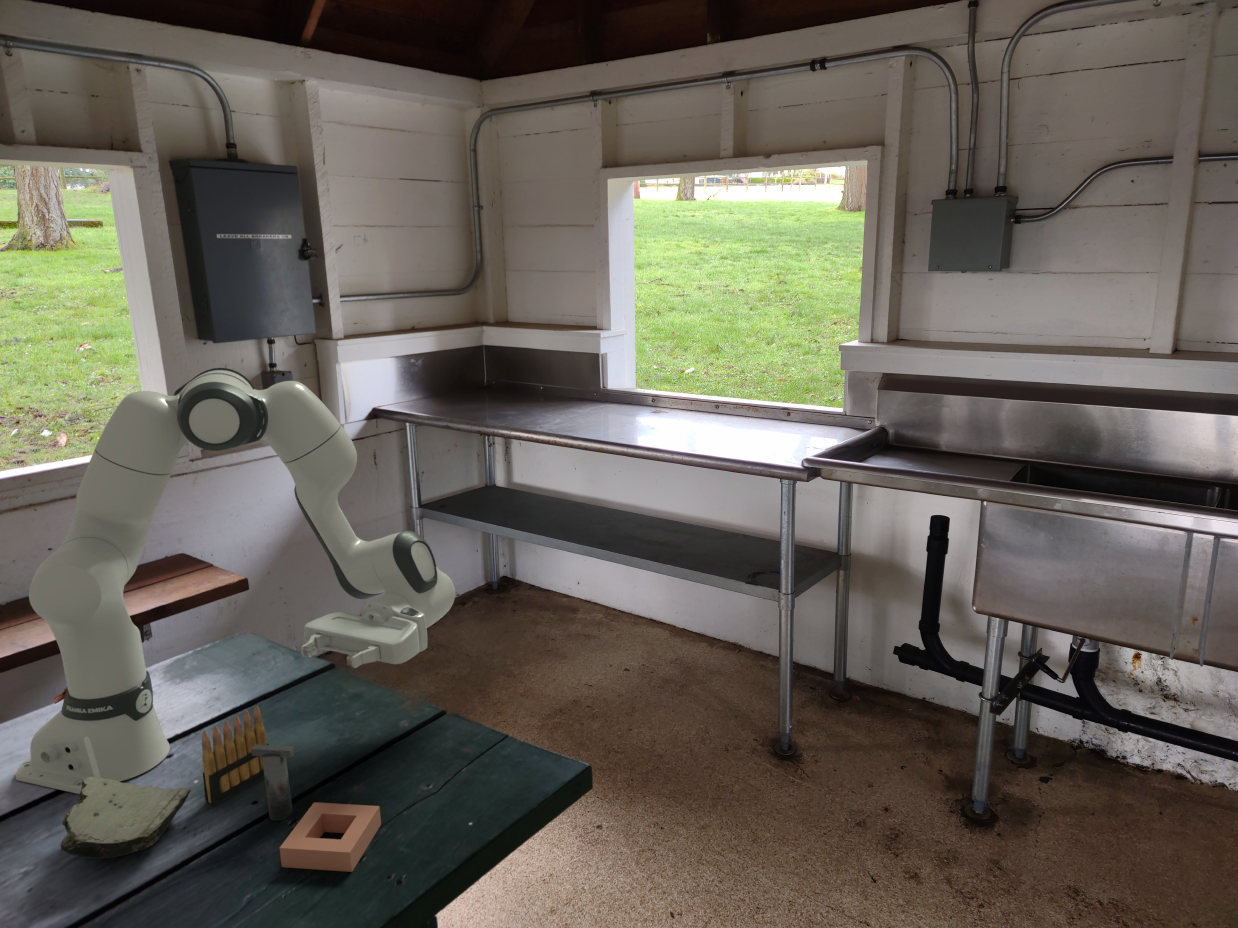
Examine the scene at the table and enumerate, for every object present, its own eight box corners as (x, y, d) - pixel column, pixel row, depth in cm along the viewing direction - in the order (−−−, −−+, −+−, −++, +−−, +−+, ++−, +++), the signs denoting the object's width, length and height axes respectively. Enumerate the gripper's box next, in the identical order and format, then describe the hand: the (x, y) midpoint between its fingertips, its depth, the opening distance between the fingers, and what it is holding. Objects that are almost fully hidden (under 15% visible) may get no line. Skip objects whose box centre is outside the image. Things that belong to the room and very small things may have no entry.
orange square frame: (281, 866, 115) (279, 847, 114) (316, 820, 125) (314, 802, 124) (352, 871, 114) (350, 852, 113) (381, 823, 124) (379, 805, 123)
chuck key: (256, 819, 125) (247, 752, 123) (267, 805, 128) (259, 740, 126) (294, 821, 125) (286, 754, 122) (305, 808, 128) (297, 742, 125)
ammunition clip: (212, 806, 129) (202, 735, 126) (205, 802, 130) (194, 731, 127) (273, 771, 137) (265, 703, 135) (266, 767, 138) (257, 700, 136)
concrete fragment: (202, 789, 129) (163, 788, 115) (175, 863, 125) (131, 872, 111) (107, 769, 128) (57, 765, 115) (77, 843, 125) (21, 848, 111)
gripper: (337, 597, 148) (275, 628, 136) (432, 614, 140) (375, 649, 128) (340, 631, 150) (280, 664, 138) (435, 650, 141) (379, 687, 129)
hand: (326, 657), depth 133 cm, fingers open, 8 cm apart
